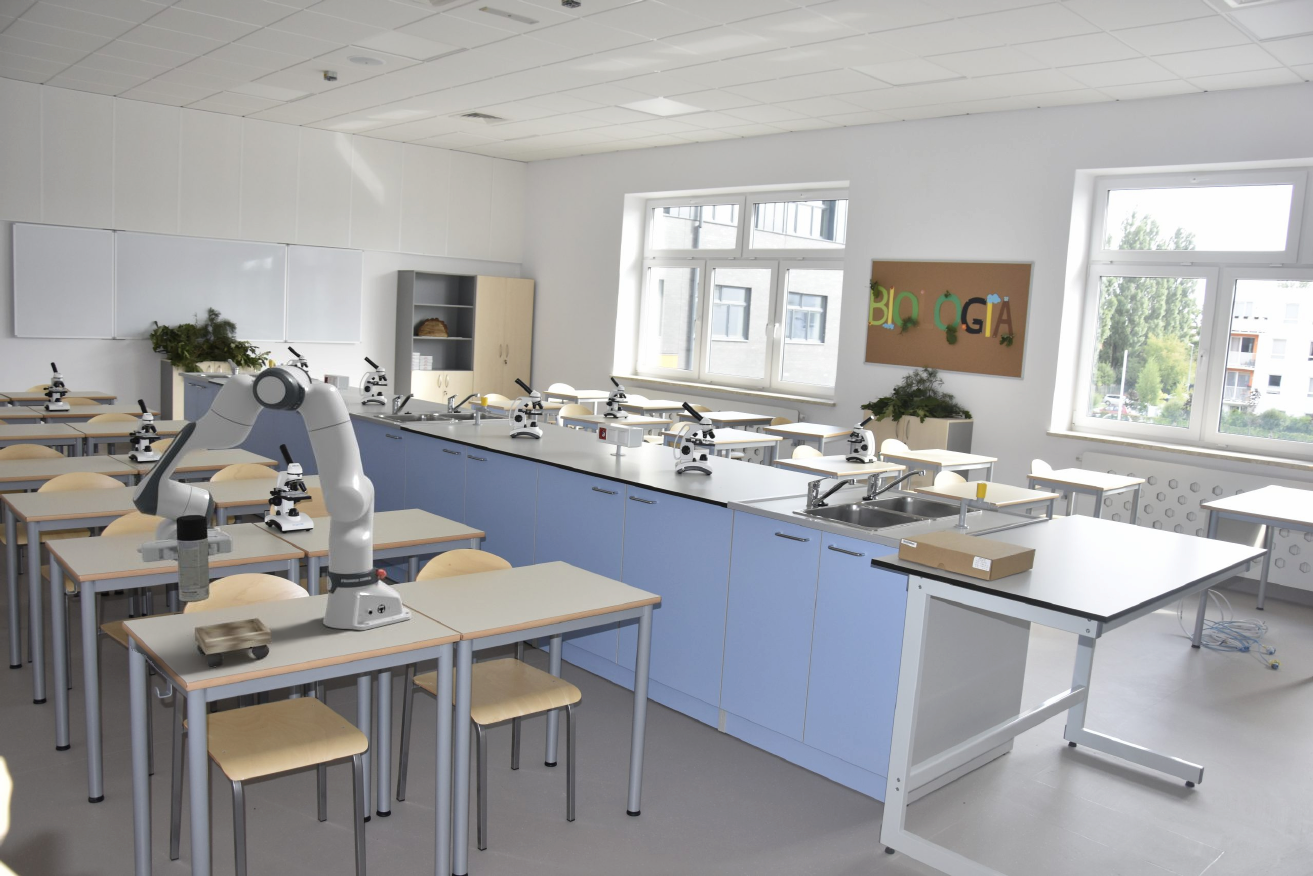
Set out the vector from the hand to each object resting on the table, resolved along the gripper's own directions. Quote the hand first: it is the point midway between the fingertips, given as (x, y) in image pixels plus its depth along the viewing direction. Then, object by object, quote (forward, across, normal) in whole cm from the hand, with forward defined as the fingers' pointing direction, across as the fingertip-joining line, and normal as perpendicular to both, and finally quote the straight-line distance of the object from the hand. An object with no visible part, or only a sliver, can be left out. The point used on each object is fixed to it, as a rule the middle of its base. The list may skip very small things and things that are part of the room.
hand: (193, 554), depth 226 cm
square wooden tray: (+11, +6, +23) cm, 26 cm away
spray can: (-1, 0, +11) cm, 11 cm away
